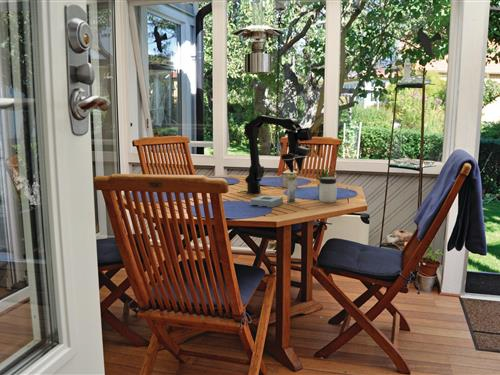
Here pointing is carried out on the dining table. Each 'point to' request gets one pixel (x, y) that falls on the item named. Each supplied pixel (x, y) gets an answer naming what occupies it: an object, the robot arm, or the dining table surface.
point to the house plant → (323, 175)
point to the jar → (327, 189)
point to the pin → (291, 187)
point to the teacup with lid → (285, 180)
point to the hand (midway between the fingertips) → (296, 171)
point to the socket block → (267, 201)
